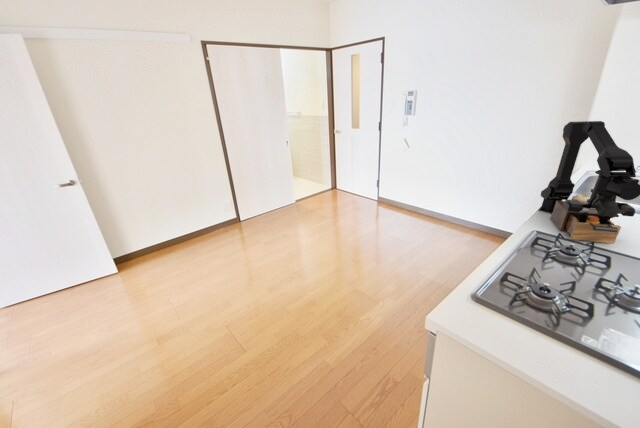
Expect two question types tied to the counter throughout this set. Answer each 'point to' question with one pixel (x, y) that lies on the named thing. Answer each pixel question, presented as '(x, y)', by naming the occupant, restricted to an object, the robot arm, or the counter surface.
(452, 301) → the counter surface
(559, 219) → the cabinet
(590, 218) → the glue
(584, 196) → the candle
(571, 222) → the drawer
